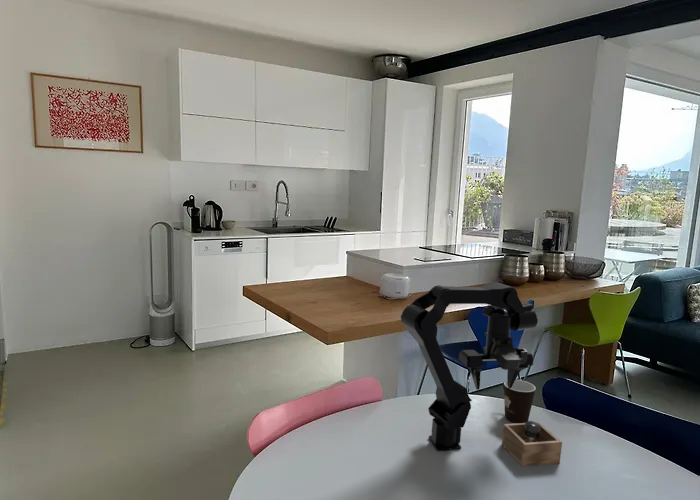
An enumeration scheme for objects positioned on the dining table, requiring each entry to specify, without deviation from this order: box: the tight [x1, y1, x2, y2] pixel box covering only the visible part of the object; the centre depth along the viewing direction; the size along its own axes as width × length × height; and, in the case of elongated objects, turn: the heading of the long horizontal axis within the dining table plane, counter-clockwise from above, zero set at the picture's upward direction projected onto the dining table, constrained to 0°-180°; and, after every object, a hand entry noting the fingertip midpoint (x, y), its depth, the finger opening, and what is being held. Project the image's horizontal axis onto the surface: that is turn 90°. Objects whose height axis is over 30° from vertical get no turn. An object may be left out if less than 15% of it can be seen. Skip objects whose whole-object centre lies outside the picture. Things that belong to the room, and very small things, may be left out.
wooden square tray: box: [501, 421, 563, 467], centre depth 125 cm, size 10×10×6 cm
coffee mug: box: [502, 379, 537, 424], centre depth 144 cm, size 12×9×10 cm
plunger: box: [523, 420, 541, 443], centre depth 124 cm, size 7×7×7 cm
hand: (493, 388), depth 132 cm, fingers open, 9 cm apart
